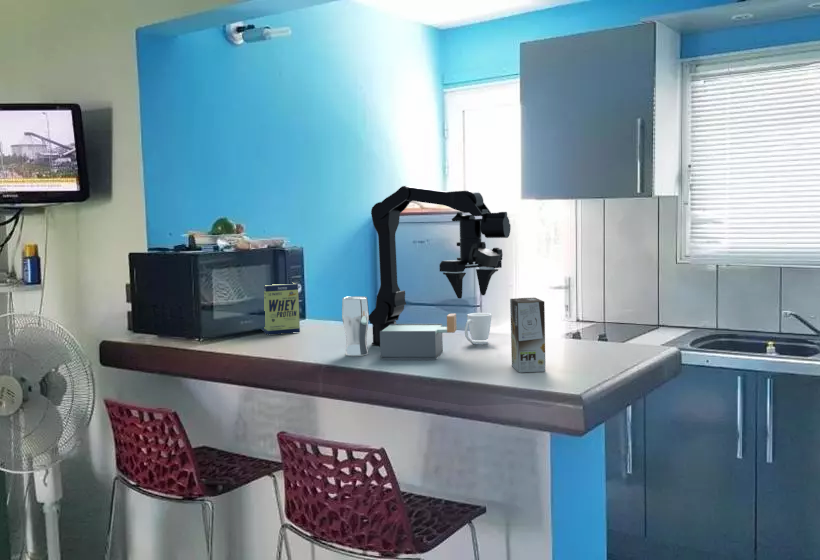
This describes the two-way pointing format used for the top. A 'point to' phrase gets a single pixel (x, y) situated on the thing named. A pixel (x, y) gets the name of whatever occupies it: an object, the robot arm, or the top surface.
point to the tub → (410, 344)
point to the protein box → (281, 308)
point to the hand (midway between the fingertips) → (471, 296)
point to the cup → (478, 327)
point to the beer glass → (355, 324)
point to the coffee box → (528, 334)
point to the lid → (427, 326)
